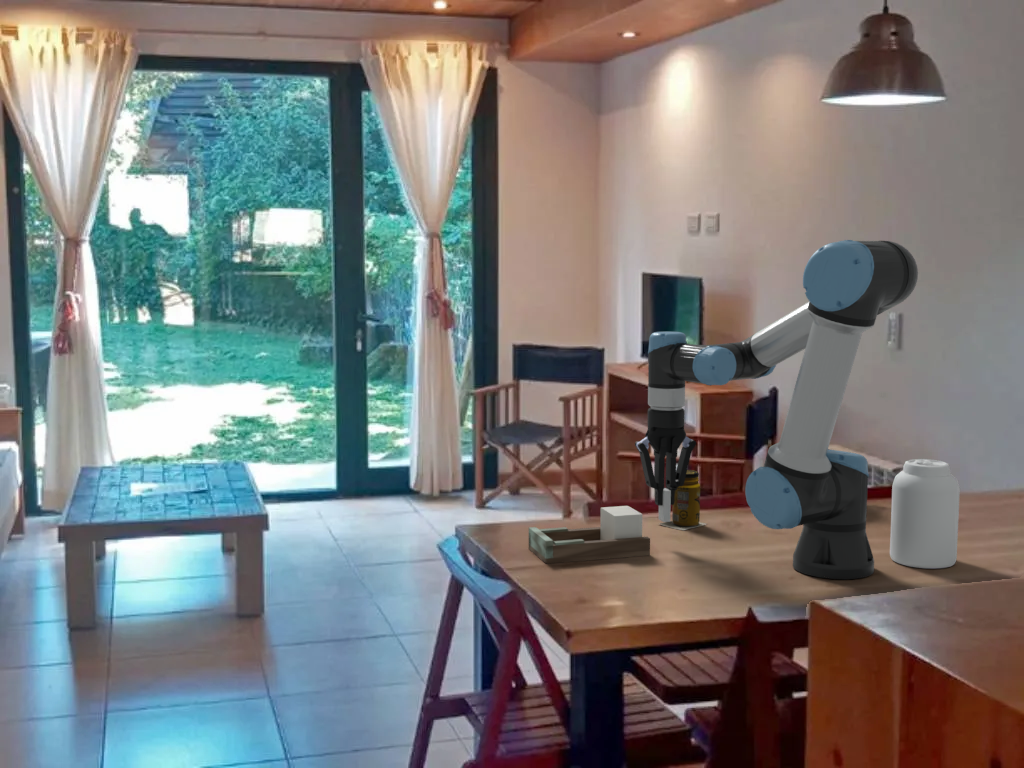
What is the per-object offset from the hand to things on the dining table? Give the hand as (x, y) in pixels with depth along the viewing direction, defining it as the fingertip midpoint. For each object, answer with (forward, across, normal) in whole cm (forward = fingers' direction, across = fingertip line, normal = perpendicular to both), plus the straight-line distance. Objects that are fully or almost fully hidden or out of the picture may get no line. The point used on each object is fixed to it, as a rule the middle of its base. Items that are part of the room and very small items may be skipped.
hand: (664, 520), depth 247 cm
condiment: (+6, -11, -16) cm, 20 cm away
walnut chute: (+6, +17, 0) cm, 17 cm away
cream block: (+4, +10, 0) cm, 11 cm away
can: (+6, -44, +25) cm, 51 cm away
